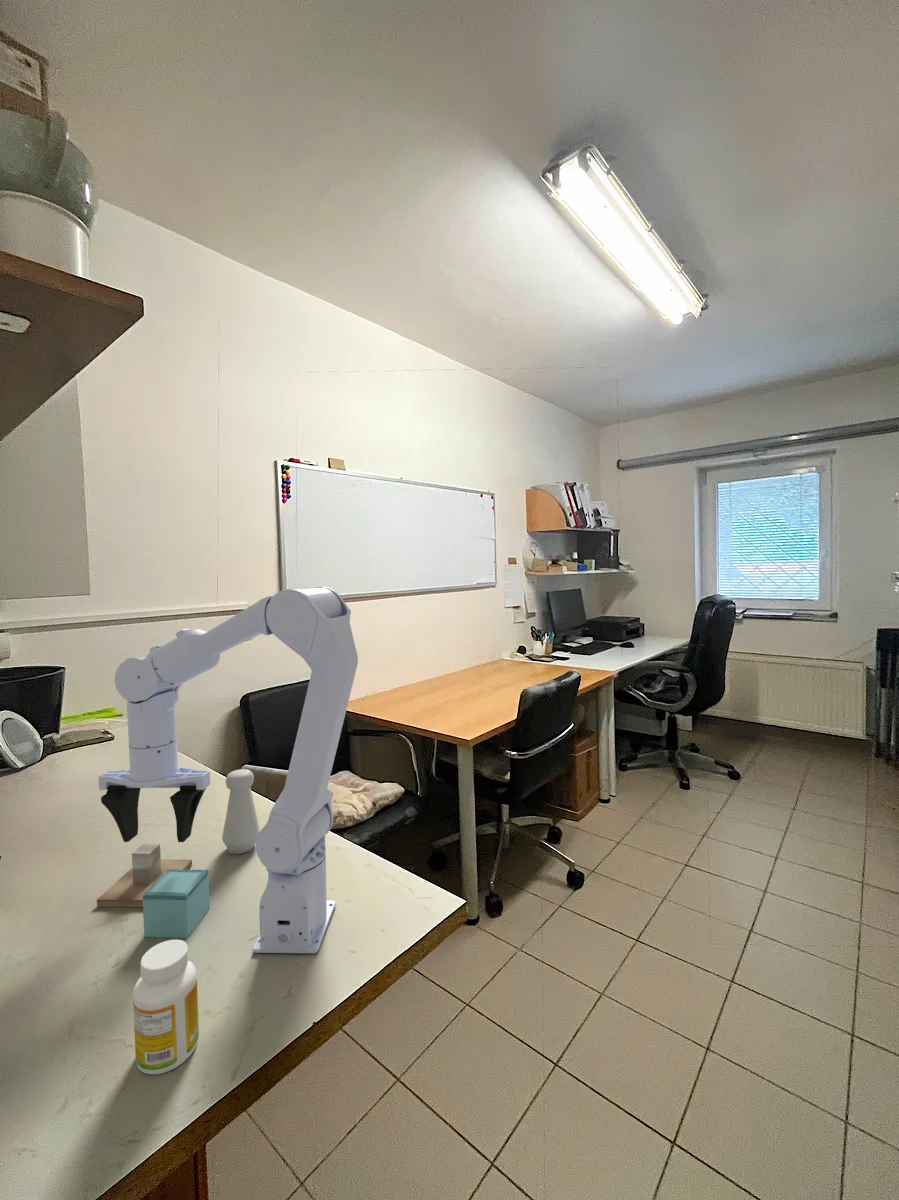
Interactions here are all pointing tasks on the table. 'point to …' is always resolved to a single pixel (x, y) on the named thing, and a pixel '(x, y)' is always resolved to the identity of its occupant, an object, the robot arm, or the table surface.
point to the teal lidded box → (176, 903)
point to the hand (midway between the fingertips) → (157, 838)
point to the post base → (133, 890)
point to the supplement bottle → (165, 1008)
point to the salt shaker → (240, 813)
